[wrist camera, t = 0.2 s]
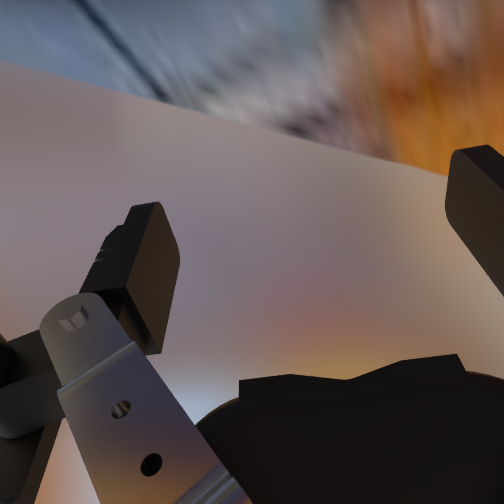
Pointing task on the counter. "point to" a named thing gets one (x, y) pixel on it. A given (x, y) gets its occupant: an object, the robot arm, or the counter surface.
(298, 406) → the robot arm
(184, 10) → the counter surface
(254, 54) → the counter surface
